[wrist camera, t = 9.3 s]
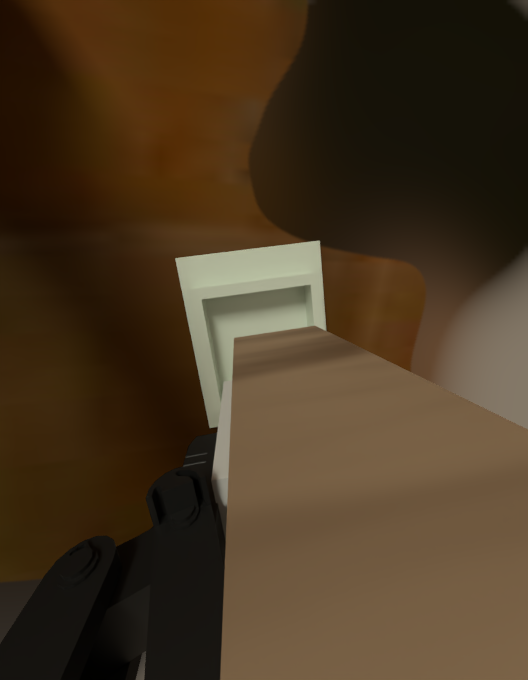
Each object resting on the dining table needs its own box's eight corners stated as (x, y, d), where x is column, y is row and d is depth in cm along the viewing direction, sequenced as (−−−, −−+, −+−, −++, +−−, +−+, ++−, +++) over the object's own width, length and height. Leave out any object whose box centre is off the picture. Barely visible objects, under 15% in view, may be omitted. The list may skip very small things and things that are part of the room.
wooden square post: (233, 337, 15) (208, 992, 1) (315, 325, 15) (1054, 687, 1) (248, 427, 16) (319, 1226, 2) (322, 413, 16) (743, 1030, 3)
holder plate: (176, 259, 24) (168, 255, 21) (317, 241, 25) (328, 235, 22) (210, 425, 28) (207, 441, 25) (329, 403, 29) (340, 416, 26)
